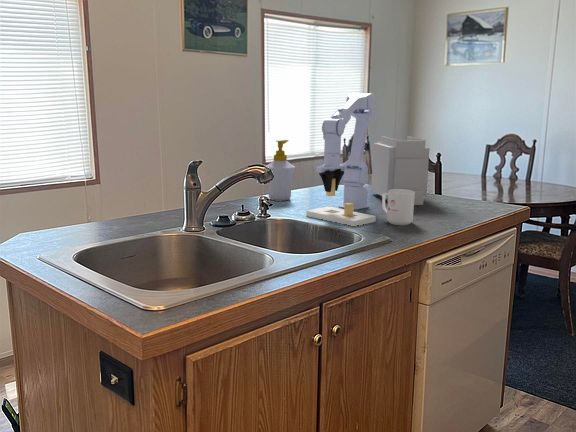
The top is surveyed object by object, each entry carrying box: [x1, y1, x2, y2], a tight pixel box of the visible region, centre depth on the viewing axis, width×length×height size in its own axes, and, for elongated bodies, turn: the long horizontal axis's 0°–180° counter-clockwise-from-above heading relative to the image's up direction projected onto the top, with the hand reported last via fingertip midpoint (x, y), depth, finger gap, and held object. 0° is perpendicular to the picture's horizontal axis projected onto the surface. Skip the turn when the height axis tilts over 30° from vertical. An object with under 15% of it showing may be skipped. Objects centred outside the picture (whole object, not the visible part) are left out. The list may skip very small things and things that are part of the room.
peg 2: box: [343, 203, 354, 217], centre depth 193 cm, size 3×3×6 cm
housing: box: [305, 206, 377, 227], centre depth 196 cm, size 12×22×2 cm, turn 44°
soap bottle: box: [265, 139, 296, 202], centre depth 229 cm, size 13×13×25 cm
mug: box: [381, 189, 415, 226], centre depth 192 cm, size 12×9×11 cm
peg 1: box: [325, 178, 336, 197], centre depth 197 cm, size 3×3×6 cm
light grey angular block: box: [370, 135, 431, 206], centre depth 234 cm, size 17×27×26 cm, turn 9°
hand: (331, 191), depth 198 cm, fingers closed on peg 1, 3 cm apart
